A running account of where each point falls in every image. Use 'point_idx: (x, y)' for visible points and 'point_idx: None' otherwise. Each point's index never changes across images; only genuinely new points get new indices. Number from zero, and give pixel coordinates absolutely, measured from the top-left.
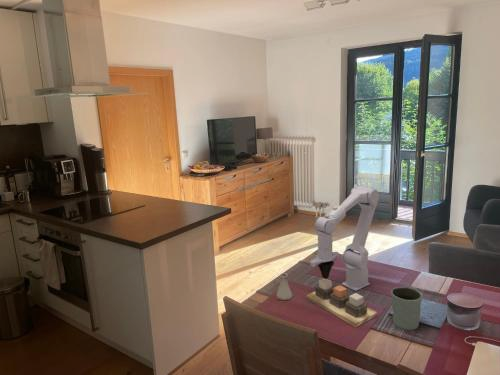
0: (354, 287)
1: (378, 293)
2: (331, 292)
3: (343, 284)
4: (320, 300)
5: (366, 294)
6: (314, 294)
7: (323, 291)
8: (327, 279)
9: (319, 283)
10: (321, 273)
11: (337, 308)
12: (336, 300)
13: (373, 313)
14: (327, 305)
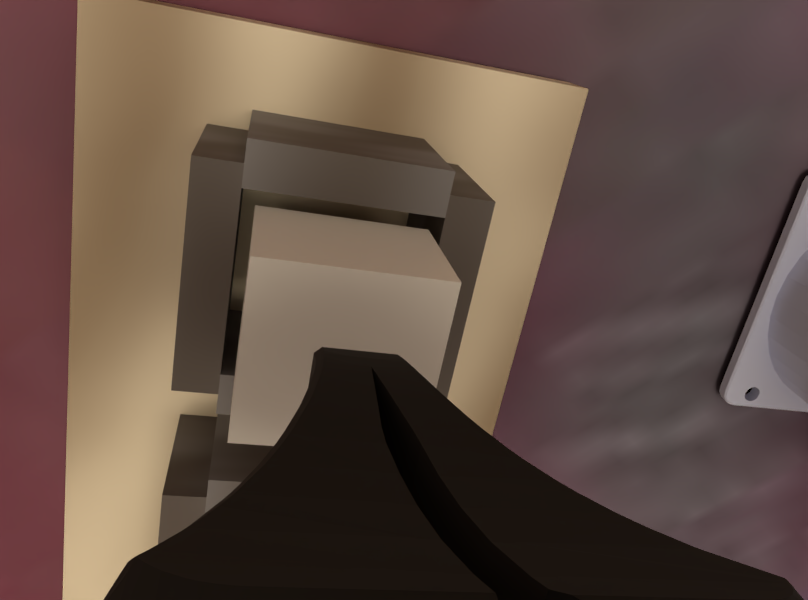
0: (774, 366)
1: (782, 561)
2: None
3: (797, 209)
4: (134, 285)
5: (705, 502)
6: (211, 97)
7: (184, 360)
8: (428, 360)
9: (250, 248)
10: (309, 386)
11: (151, 544)
12: None
13: None
14: (106, 429)
